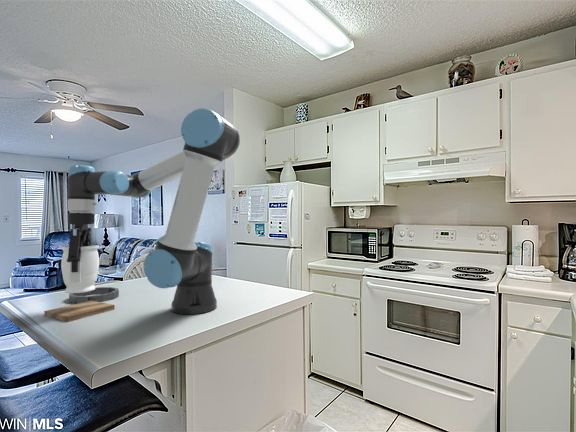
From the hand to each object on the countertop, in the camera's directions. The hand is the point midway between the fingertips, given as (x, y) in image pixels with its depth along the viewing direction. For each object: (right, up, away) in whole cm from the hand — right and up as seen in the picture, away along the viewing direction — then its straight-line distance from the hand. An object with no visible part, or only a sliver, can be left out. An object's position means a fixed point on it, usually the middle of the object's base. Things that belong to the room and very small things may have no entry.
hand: (80, 279), depth 106 cm
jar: (0, -4, 0) cm, 4 cm away
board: (0, -11, 0) cm, 11 cm away
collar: (-7, -11, +19) cm, 23 cm away
